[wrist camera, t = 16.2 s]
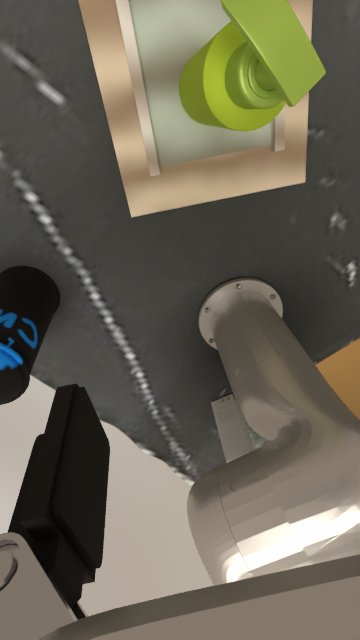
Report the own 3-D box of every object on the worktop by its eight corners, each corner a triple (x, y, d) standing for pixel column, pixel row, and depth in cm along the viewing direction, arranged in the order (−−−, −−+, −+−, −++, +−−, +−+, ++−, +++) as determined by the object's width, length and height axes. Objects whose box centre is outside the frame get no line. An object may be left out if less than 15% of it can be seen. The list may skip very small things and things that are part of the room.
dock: (294, 177, 40) (311, 184, 36) (131, 210, 40) (131, 221, 36) (300, -64, 29) (325, -90, 25) (75, -21, 29) (67, -40, 25)
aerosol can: (49, 328, 47) (2, 450, 30) (-13, 308, 44) (-102, 428, 27) (68, 281, 44) (28, 388, 27) (2, 255, 41) (-89, 356, 24)
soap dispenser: (203, 20, 29) (300, -107, 12) (252, 88, 32) (382, 64, 15) (157, 79, 31) (185, 40, 14) (207, 138, 34) (280, 165, 17)
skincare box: (209, 401, 59) (225, 461, 49) (232, 392, 58) (252, 451, 48) (221, 421, 62) (238, 481, 52) (242, 413, 62) (263, 472, 51)
